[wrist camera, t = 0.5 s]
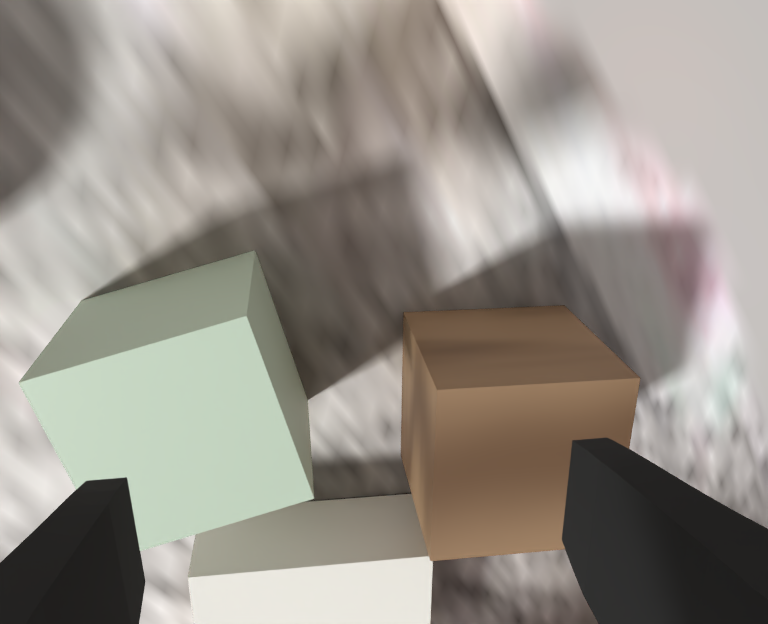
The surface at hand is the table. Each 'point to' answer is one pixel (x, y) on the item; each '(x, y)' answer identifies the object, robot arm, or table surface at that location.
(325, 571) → the cream slab
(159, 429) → the sage cube
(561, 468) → the walnut cube
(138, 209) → the table surface
